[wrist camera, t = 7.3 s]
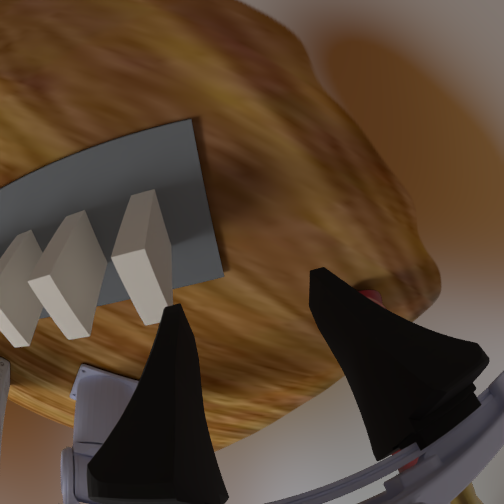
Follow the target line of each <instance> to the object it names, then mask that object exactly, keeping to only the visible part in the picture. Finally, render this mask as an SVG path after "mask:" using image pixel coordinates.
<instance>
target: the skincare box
mask: <svg viewBox="0 0 504 504" xmlns="http://www.w3.org/2000/svg"><path fill="white" fill-rule="evenodd" d="M9 387H10V362H9V361H7V360H5V359H4V358H2V357H0V451H1V440H2V429H3V422H4V415H5V408H6V402H7V397H8V392H9Z"/></svg>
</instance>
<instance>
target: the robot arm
mask: <svg viewBox="0 0 504 504" xmlns="http://www.w3.org/2000/svg"><path fill="white" fill-rule="evenodd" d="M309 308H310V310H311V312H312V315H313V317H314V320H315V322H316V324H317V326H318V328H319V330H320V332H321V334H322V335H323V337H324V339H325V340H326V342H327V344H328V346H329V347H330V349H331V351H332V352H333V354H334V356H335V358H336V359H337V361H338V363H339V364H340V366H341V368H342V370H343V372H344V374H345V376H346V378H347V380H348V383H349V385H350V387H351V390H352V392H353V394H354V397H355V399H356V402H357V404H358V407H359V410H360V412H361V415H362V418H363V421H364V424H365V427H366V430H367V433H368V436H369V440H370V443H371V446H372V450H373V454H374V456H375V458H376V460H377V461H379V460H382V459H384V458H386V457H387V456H389V455H391V454H393V453H395V452H397V451H399V450H401V451H399V452H397V453H396V454H394V455H392V456H390V457H388V458H386V459H384V460H383V461H381V462H379V463H377V464H375V465H373V466H370V467H368V468H366V469H364V470H362V471H360V472H358V473H355V474H353V475H351V476H348V477H346V478H344V479H341V480H339V481H336V482H334V483H331V484H328V485H326V486H323V487H320V488H317V489H315V490H311V491H308V492H305V493H302V494H299V495H296V496H292V497H289V498H286V499H282V500H278V501H274V502H270V503H265V504H322V503H325V502H328V501H330V500H333V499H335V498H338V497H341V496H343V495H345V494H348V493H350V492H353V491H355V490H357V489H360V488H362V487H364V486H366V485H368V484H370V483H372V482H374V481H376V480H378V479H380V478H382V477H384V476H386V475H388V474H390V473H392V472H394V471H396V470H397V469H399V468H401V467H403V466H404V465H406V464H408V463H409V462H411V461H413V460H414V459H416V458H418V457H419V458H418V461H417V464H416V465H414V466H412V467H410V468H409V469H407V470H405V471H403V472H401V473H400V474H398V475H396V476H395V477H393V478H391V479H389V480H387V481H386V482H384V486H385V488H386V491H384V492H382V493H380V494H378V495H376V496H373V497H371V498H369V499H367V500H365V501H362V502H360V503H358V504H451V503H450V502H451V501H452V500H453V499H454V498H456V497H457V496H458V495H459V494H460V493H461V492H462V491H463V490H464V489H465V488H466V487H467V486H468V485H469V484H470V483H471V482H472V481H473V480H474V479H475V478H476V477H477V476H478V475H479V473H480V472H481V471H482V470H483V469H484V468H485V467H486V465H487V464H488V463H489V462H490V461H491V460H492V459H493V457H494V456H495V455H496V454H497V453H498V451H499V450H500V449H501V448H502V446H503V445H504V371H503V372H502V373H501V374H500V375H499V376H498V377H497V378H496V379H495V380H494V381H493V382H492V383H491V384H490V385H489V387H488V388H487V389H486V390H485V391H483V392H482V393H481V394H480V395H479V396H478V397H476V395H475V394H474V391H475V390H476V387H475V385H474V384H473V382H474V380H475V379H476V378H477V377H478V376H479V375H480V374H481V373H482V371H483V370H484V369H485V368H486V366H487V365H488V364H489V357H488V356H487V355H486V354H485V352H484V351H483V350H482V348H481V347H480V346H479V345H478V344H477V343H474V342H470V341H465V340H461V339H456V338H453V337H450V336H447V335H443V334H440V333H437V332H434V331H432V330H429V329H426V328H424V327H422V326H419V325H417V324H415V323H412V322H410V321H408V320H406V319H404V318H402V317H400V316H398V315H396V314H394V313H392V312H390V311H389V310H387V309H385V308H384V307H382V306H380V305H379V304H377V303H375V302H374V301H372V300H370V299H369V298H367V297H366V296H364V295H363V294H361V293H360V292H358V291H357V290H355V289H354V288H353V287H351V286H350V285H348V284H347V283H346V282H344V281H343V280H341V279H340V278H339V277H337V276H336V275H334V274H333V273H332V272H330V271H329V270H327V269H326V268H325V267H322V268H318V269H314V270H311V271H310V289H309ZM70 398H72V399H74V400H76V406H75V418H74V435H73V446H72V448H71V447H66V449H63V450H62V453H61V491H62V494H63V504H80V503H79V502H83V503H89V504H224V503H225V502H226V501H227V500H228V498H229V496H228V493H227V490H226V488H225V485H224V482H223V479H222V476H221V473H220V470H219V467H218V464H217V460H216V457H215V453H214V450H213V446H212V442H211V439H210V435H209V431H208V427H207V422H206V418H205V413H204V406H203V397H202V388H201V377H200V367H199V358H198V353H197V348H196V343H195V338H194V335H193V332H192V330H191V328H190V325H189V323H188V321H187V318H186V316H185V314H184V311H183V309H182V306H181V304H176V305H171V306H167V307H165V308H164V310H163V314H162V317H161V321H160V324H159V328H158V331H157V334H156V338H155V340H154V343H153V346H152V349H151V352H150V355H149V358H148V360H147V363H146V365H145V368H144V370H143V373H142V375H141V378H140V380H139V381H137V380H133V379H129V378H126V377H123V376H119V375H116V374H113V373H110V372H106V371H103V370H100V369H97V368H94V367H92V366H89V365H86V364H81V366H80V368H79V371H78V374H77V376H76V379H75V382H74V385H73V387H72V390H71V393H70Z"/></svg>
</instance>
